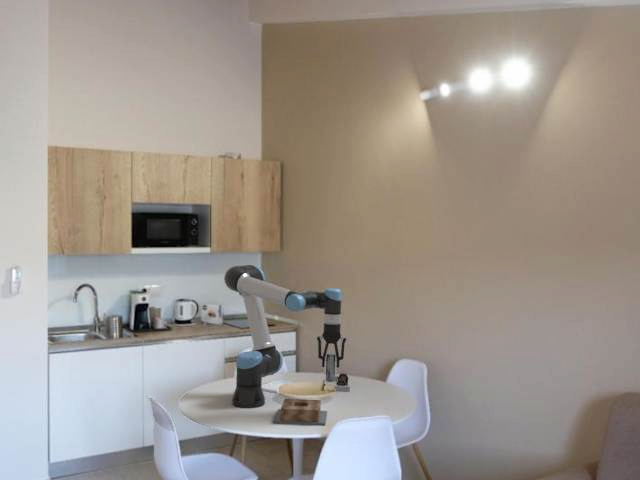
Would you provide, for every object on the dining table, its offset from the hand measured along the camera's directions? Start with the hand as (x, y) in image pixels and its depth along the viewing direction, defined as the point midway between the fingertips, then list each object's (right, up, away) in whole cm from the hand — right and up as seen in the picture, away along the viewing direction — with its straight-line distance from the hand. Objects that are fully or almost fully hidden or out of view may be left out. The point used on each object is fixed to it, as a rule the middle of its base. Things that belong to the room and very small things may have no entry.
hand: (330, 374), depth 305 cm
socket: (-13, -16, -13) cm, 25 cm away
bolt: (+6, -15, +45) cm, 48 cm away
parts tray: (+4, -15, +45) cm, 48 cm away
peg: (0, -3, 0) cm, 3 cm away
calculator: (-26, -15, +39) cm, 49 cm away
